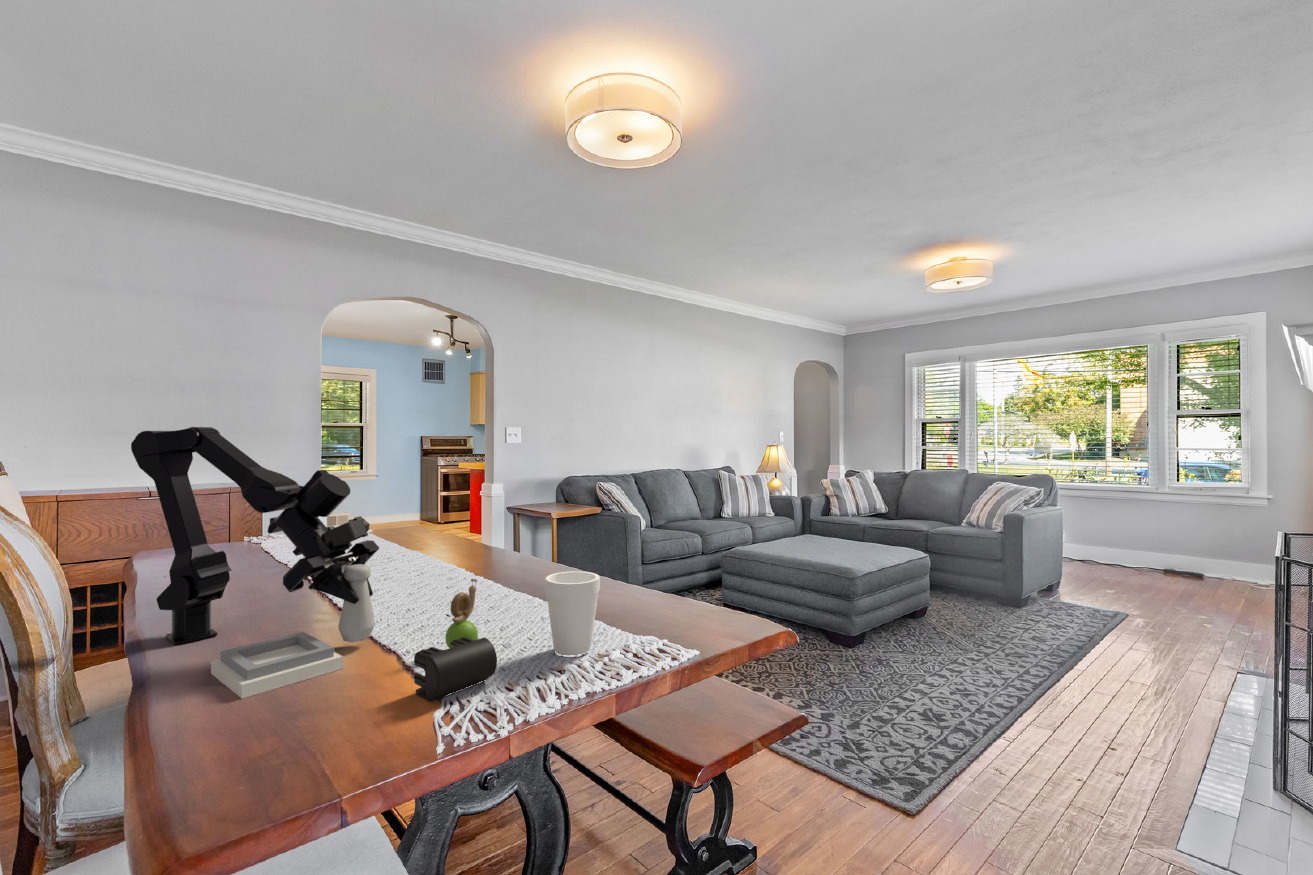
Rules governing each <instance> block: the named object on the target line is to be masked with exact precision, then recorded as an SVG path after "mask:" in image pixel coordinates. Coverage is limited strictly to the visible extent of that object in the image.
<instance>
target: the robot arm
mask: <svg viewBox="0 0 1313 875" xmlns="http://www.w3.org/2000/svg"><path fill="white" fill-rule="evenodd" d="M130 445H131V446H130V450H131V453H132V455H133V458H134V459H135V462H136V463H137V466H138V467H139V468H140V470H142V471H143V472H144V473H145V474H146V475H147V476H149V478H151V479H152V480H153V482H154V485H155V489H156V492H157V495H158V499H159V502H160V505H161V509H162V512H163V516H164V520H165V523H166V526H167V530H168V533H169V537H170V540H171V545H172V547H173V551H174V558H173V560H172V563H171V565H170V569H169V580H170V583H169V585H168V586H167V587H166V588H165V589H164V590H163V591H162V592H161V593H160V594H159V595H158V597H156V603H157V606H158V609H159V610H161V611H171V633H166V634H165V638H166V639H167V641H169V642H170V643H172V644H173V645H181V644H184V643H190V642H193V641H198V640H202V639H208V638H212V637H216V636H218V632H217V631H216V630H214V629H213V628H211V627H212V626H211V623H212V620H211V619H212V612H211V611H212V610H211V609H212V601H215V600H220V599H222V598H223V596H224V593H225V589H226V587H227V585H228V582H230V581H231V580H230V579H231V578H230V572H231V571H232V568H231V567H230V565H229V563H228V559H227V554H226V552H225V551H224V550H220V551H216V550H215V549H213V548H212V547H211V546H210V545H209V543H208V540H207V536H206V533H205V530H204V526H203V522H202V518H201V516H200V512H199V509H198V505H197V502H196V498H195V495H194V492H193V488H192V485H191V480H190V478H189V474H188V472H189V471H190V468H191V465H192V462H193V461H194V455H193V454H194V453H197V454H198V455H200V457H202V458H203V459H205V460H206V461H207V462H208V463H209V464H211V465H212V466H213V467H215V468H216V469H217V470H219V471H220V472H221V473H222V474H223V475H225V476H226V477H228V478H229V479H230V480H231V481H232V482H234V483H235V484H236V485H237V486H238V487H239V489H240V491H241V495H242V498H243V499H244V500H245V501H246V502H247V503H248V504H249V505H250V507H251V508H252V509H253V510H254V511H255V512H258V513H260V514H261V513H262V514H267V513H273V512H278V511H282V512H281V513H280V514H279V515H278V516H277V517H271V518H269V525H268V526H267V533H268V534H274V533H280V532H282V533H284V535H285V536H286V537H287V538H288V540H289V541H290V542H291V543H292V544H293V545H294V547H295V548H294V549H293V551H292V553H293V554H294V556H296V557H297V556H301V555H302V556H303V557H302V558H299V559H298V560H297V562H295V564H293V566H292V567H290V569H289V570H288V571H286V573H285V574H284V575H283V576H282V586H284V588H285V589H286V591H288V592H289V593H293V592H296V591H299V590H301V589H303V587H304V584H305V582H304V579H306V578H309V577H310V580H311V582H312V583H311V584H310V585H308V586H307V587H308V589H309V590H311V591H312V590H315V591H319V592H321V593H324V594H328V595H330V596H333V597H336V598H337V599H340V600H343V601H344V600H345V601H348V602H350V603H353V604H356V603H357V602H358V601H359V598H358V596H357V595H356V593H355V591H354V590H353V589H352V587H351V586H350V584H349V583H348V581H347V580H346V579H345V578H344V569H345V568H346V567H348V566H351V565H356V564H363V565H366V563H367V562H369V560H370V559H371V558H372V557H373V556H374V555H375V553H377V552H378V551H379V550H380V546H379V545H378V544H377V543H376V542H375V540H369V539H368V540H364V541H360V542H355V544H354V545H353V543H352V542H354V541H356V540H359V539H360V538H365V537H368V536H369V534H368V532H369V530H370V525H371V524H370V523H369V522H368V521H367V520H366V518H364V517H362V516H355V517H354V518H352V519H348V522H345V523H342V524H341V525H338V526H333V525H329V526H326V525H325V524H324V522H323V521H322V520H321V519H320V518H319V517H321V518H326V517H329V516H330V515H332V513H333V512H334V511H335V510H336V509H337V508H338V507H339V506H340V504H341V503H342V502H343V501H345V500H346V499H347V498H348V496H349V495H350V494H351V488H350V486H349V485H348V483H347V482H346V481H345V480H342V479H341V478H340V477H338V476H336V475H334V474H331V473H329V472H328V471H327V470H326V469H319V470H318V469H317V470H316V471H315V472H314V473H313V475H312V476H311V478H310V479H309V480H308V481H307V482H306V483H305V484H304V485H299V484H298V483H297V481H296V480H295V479H294V480H293V479H291V478H290V477H288V476H286V475H285V474H282V473H280V472H277V471H274V470H270V469H267V468H266V467H264V466H261V465H260V463H258V462H257V461H255V460H254V459H253V458H251V457H250V456H249V455H247V454H246V453H245V452H244V451H242V450H240V449H239V448H238V447H237V446H235V444H233V443H232V442H230V441H229V440H227V439H226V438H225V437H224V436H223V435H221V433H220V431H219V430H218V429H216V428H214V427H212V426H211V427H210V426H206V427H205V426H191V427H187V428H184V429H179V430H178V429H177V430H142V431H140V432H138V433H137V434H136V436H135V438H134V439H133V440H132V441H131V444H130ZM347 550H348V551H347ZM346 551H347V552H346ZM367 583H368V589H369V594H370V598H371V597H372V596H373V594H374V592H373V589H372V587H371V586H372V585H371V583H370V581H369V578H367Z"/></svg>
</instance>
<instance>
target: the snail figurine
mask: <svg viewBox="0 0 1313 875" xmlns="http://www.w3.org/2000/svg"><path fill="white" fill-rule="evenodd" d="M470 581H471V582H472V584H471V585H470V586H469V587H468V593H469V594H468V593H466V592H458V593H457V594H456V595H454V597H453V598H452V600H451V602H450V613H451V615H452V616H453V618H452V619H451V621H452V622H453V623H451V624H450V625H449V627H448V628H447V630H446V632H445V638H444V640H445V643H446V645H447V647H448V649H450V648H453V647H456V646H453V645H450V642H451V641H454V640H458V639H461V638H462V637H463V638H464V637H466V638H469V639H471V640H474V641H475V640H478V639H479V631H478V628H477V627H476V625H475V623H473V622H472V621H470V620H468V619H469V617H470V616H471V615H472V613H473V611H474V606H475V601H476V592H477V582H478V579H477V578H471V579H470ZM474 582H475V585H473V584H474Z"/></svg>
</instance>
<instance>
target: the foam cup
mask: <svg viewBox="0 0 1313 875" xmlns="http://www.w3.org/2000/svg"><path fill="white" fill-rule="evenodd" d="M544 580H545V581H544V582H545V584H544V588H545V589H544V592H545V593H546V598H547V606H548V614H549V623H550V629H551V636H552V638H551V639H552V644H553V645H552V646H553V650H554V651H556V653H558V654H561V655H578V654H582V653H586V652H587V651H590V652H591V650H590V648H591V647H592V643H593V636H594V635H593V634H594V628H595V627H594V626H595V619H596V612H597V603H598V599H599V598H598V597H599V591H601V590H600V588H601V585H600V582H601V576H600V575H599V574H597V573H595V572H589V571H582V570H581V571H579V570H576V571H575V570H572V571H571V570H570V571H561V572H555V573H552V574H548V575H547V576H546V577H545V578H544Z"/></svg>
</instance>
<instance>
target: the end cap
mask: <svg viewBox="0 0 1313 875" xmlns="http://www.w3.org/2000/svg"><path fill="white" fill-rule="evenodd" d="M450 645H453V646H456V647H453V648H447V649H446V648H445V649H439V648H437V647H434V646H430V647H428V648H425V649H421V650H420V651H417V652H416V653H415V654H414V657H413V658H414V660H413V663H414V666H416V667H419V668H421V669H422V670H423V671H424V675H422V674H420V673H418V672H414V674H413V675H414V676H413V679H414V680H413V681H414V684H415V685H417V686H419V687H418V688H417V689H415V695H416V696H418V697H420V698H421V699H424V700H426V702H427V701H428V702H429V703H430V702H435V701H437V700H440V699H443V698H445V696H446V695H448V694H450V693H453V692H456V691H458V690H461V689H464V688H466V687H469V686H471V685H474V684H477V683H479V682H481V681H484V680H486V681H487V680H488V679H489V678H491V677H492V676H493V675H494V674H495V672H496V670H497V666H498V656H497V652H496V649H495V647H494V645H493V643H492V642H491V640H490V639H488V638H487V637H482V638H477V640H475V641H474V640H471V639H469V638H466V637H464V638H463V637H462V638H461V639H458V640H454V641H451V642H450ZM484 682H485V681H484ZM479 684H480V683H479ZM477 685H478V684H477ZM474 686H475V685H474ZM471 687H472V686H471ZM469 688H470V687H469ZM466 689H467V688H466ZM464 690H465V689H464ZM461 691H462V690H461ZM456 693H457V692H456ZM453 694H454V693H453ZM448 696H449V695H448ZM446 697H447V696H446Z"/></svg>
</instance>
